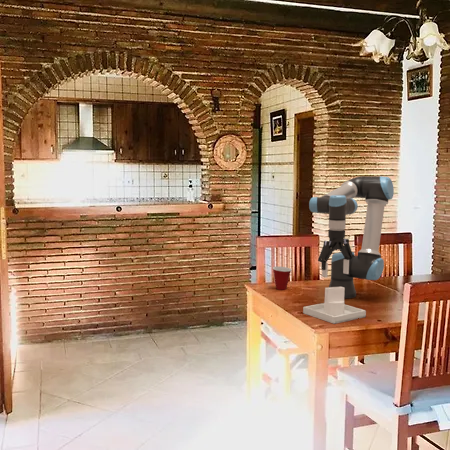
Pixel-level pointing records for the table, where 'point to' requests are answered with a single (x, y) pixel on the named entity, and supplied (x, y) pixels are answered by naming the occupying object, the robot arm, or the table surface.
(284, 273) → the plastic cup
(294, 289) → the table surface
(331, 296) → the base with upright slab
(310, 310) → the tray
